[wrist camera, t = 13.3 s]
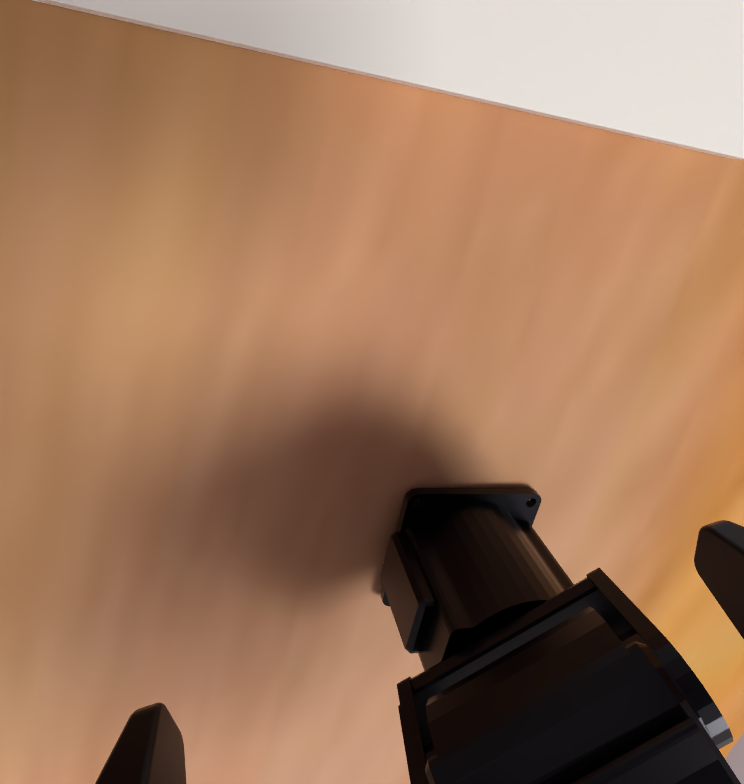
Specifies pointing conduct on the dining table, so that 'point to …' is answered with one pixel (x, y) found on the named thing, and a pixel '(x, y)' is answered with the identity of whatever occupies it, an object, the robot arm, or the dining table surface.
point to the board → (506, 53)
